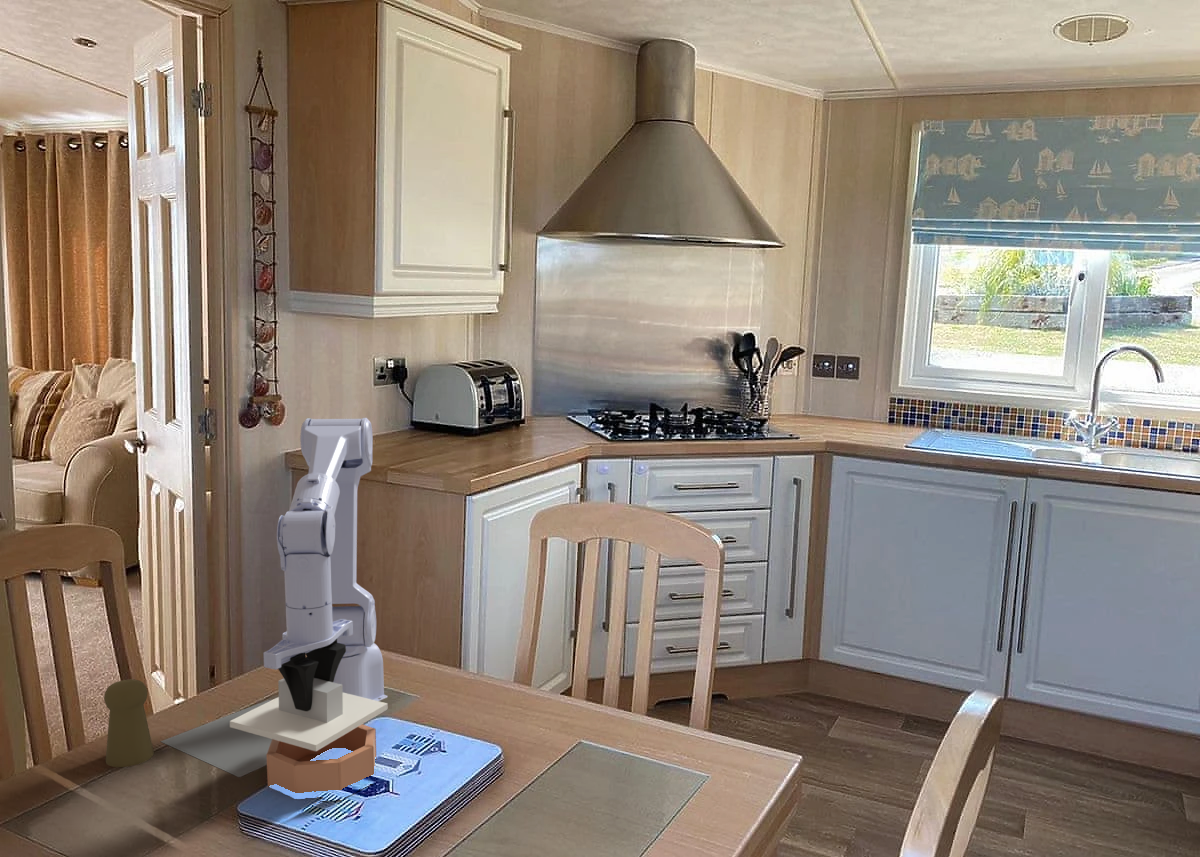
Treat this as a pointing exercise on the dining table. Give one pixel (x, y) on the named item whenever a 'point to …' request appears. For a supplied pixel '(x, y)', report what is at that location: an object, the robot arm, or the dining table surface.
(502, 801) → the dining table surface
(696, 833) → the dining table surface
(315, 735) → the lid
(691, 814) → the dining table surface
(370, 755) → the octagonal ring
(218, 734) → the mat
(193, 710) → the dining table surface
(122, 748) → the cork
